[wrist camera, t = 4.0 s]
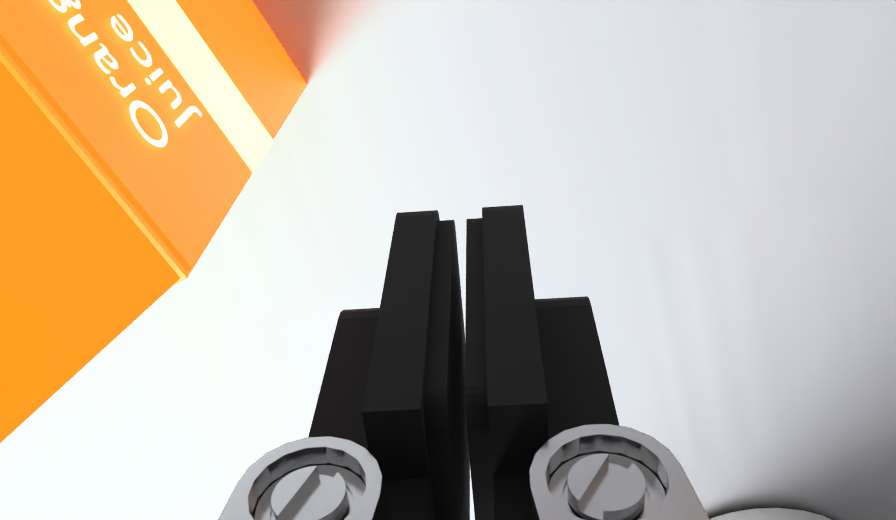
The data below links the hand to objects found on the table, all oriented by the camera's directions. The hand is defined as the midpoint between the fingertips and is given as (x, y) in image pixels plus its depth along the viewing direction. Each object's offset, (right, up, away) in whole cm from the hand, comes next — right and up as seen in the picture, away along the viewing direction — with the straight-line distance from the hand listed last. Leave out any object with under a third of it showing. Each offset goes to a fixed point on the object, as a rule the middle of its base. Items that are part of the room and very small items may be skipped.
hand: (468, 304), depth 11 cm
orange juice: (-11, +9, +19) cm, 24 cm away
